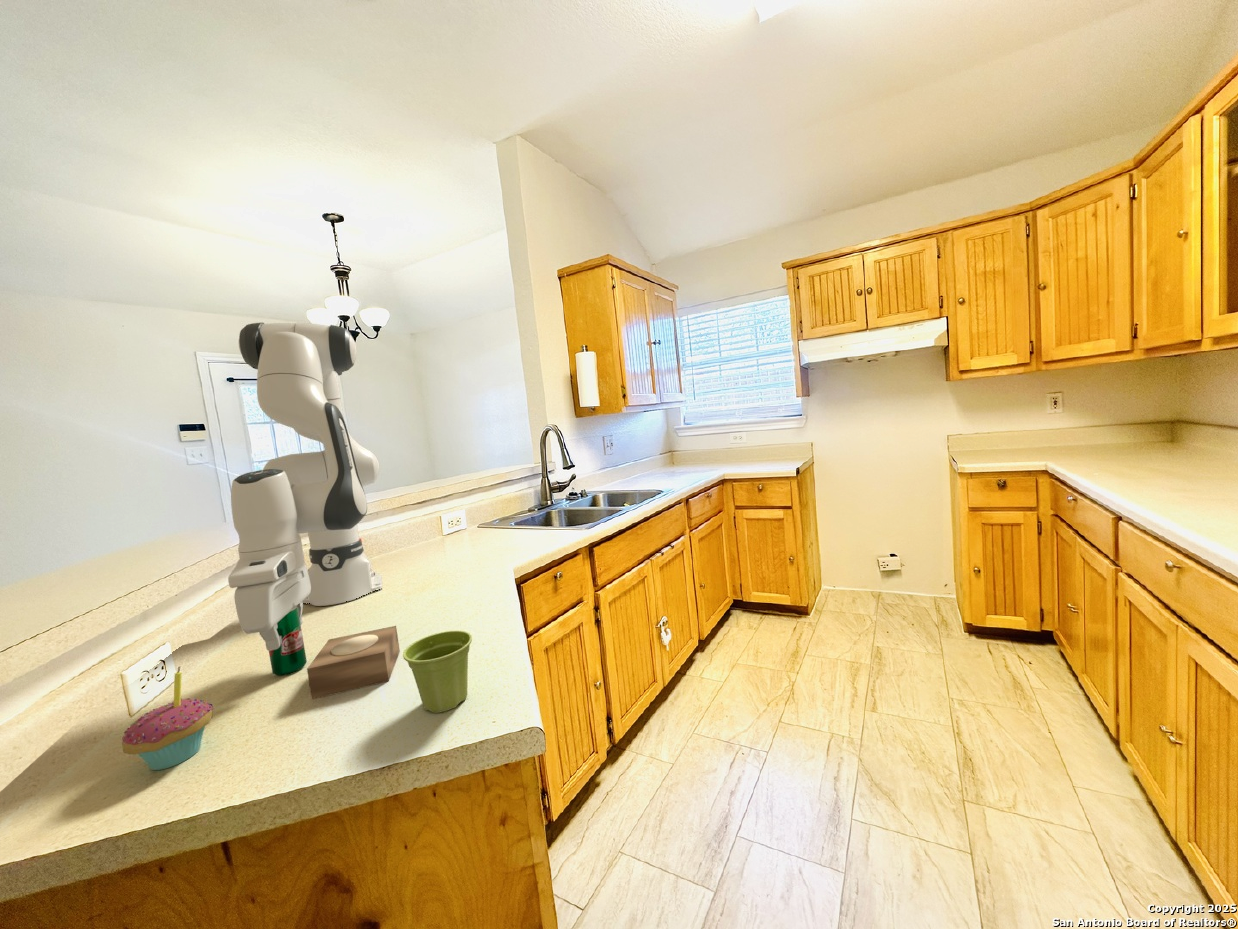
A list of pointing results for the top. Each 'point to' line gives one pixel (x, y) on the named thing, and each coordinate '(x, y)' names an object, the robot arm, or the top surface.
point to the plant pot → (440, 668)
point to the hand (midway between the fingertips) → (286, 637)
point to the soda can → (289, 646)
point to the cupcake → (169, 731)
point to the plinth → (354, 662)
